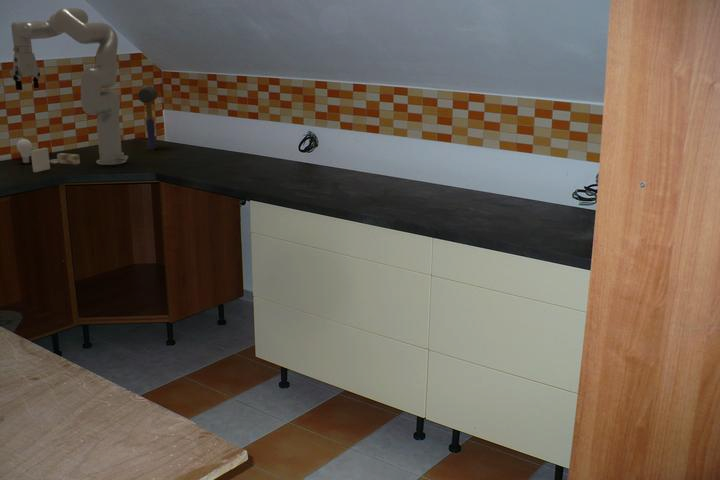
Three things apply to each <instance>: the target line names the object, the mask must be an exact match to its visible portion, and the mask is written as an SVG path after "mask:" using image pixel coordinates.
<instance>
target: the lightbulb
mask: <svg viewBox="0 0 720 480" xmlns="http://www.w3.org/2000/svg"><path fill="white" fill-rule="evenodd" d="M15 145H16V150H17V151H18V152H19V154H20V156H21V158H22V163H24V164H27V165H28V164H29V163H30V154H31V151H32V149H33V145H32V142H31V141H30V139H27V138H21V139H19V140H18V141H16V144H15Z"/></svg>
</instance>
